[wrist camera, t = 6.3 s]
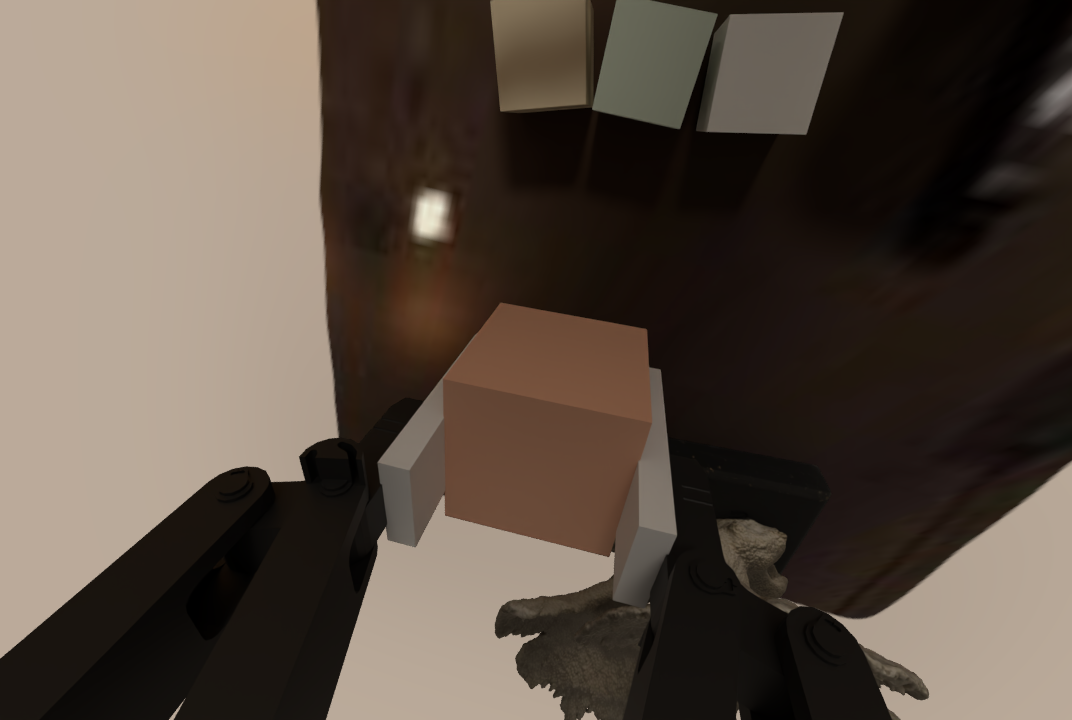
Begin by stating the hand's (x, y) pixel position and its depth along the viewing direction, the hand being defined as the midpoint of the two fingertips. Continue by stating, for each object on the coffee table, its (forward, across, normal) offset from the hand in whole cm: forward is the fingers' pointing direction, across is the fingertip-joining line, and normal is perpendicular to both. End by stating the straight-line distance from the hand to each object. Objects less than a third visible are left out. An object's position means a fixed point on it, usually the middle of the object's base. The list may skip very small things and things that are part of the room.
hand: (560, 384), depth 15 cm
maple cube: (+20, -5, +11) cm, 23 cm away
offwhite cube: (+20, +7, +11) cm, 24 cm away
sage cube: (+20, +1, +11) cm, 23 cm away
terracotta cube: (0, 0, 0) cm, 0 cm away
